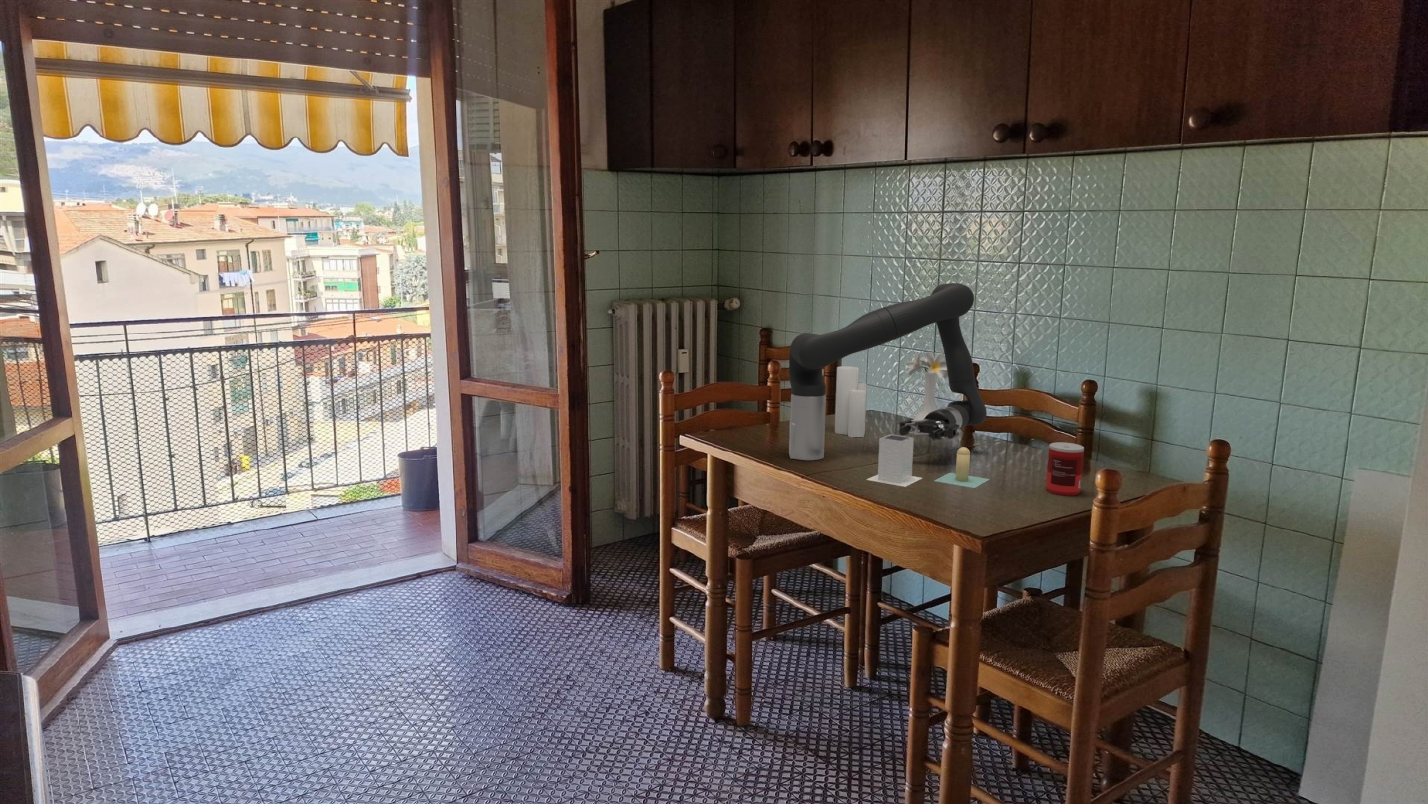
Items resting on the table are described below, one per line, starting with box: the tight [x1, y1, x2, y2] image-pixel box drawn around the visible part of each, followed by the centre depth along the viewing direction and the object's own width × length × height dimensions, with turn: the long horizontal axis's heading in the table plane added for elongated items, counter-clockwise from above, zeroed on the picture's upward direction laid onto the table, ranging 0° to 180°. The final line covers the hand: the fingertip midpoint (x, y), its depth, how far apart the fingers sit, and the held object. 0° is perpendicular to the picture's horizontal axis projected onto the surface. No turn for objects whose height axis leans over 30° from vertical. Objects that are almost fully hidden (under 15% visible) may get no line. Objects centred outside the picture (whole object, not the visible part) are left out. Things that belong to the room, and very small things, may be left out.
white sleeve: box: [877, 433, 915, 483], centre depth 212 cm, size 6×6×10 cm
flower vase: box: [906, 351, 948, 432], centre depth 271 cm, size 13×18×25 cm
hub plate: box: [933, 446, 991, 489], centre depth 212 cm, size 10×10×10 cm
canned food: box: [1045, 441, 1085, 497], centre depth 208 cm, size 8×8×11 cm
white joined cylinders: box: [834, 365, 868, 438], centre depth 268 cm, size 11×7×20 cm, turn 37°
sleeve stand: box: [866, 474, 923, 488], centre depth 212 cm, size 10×10×10 cm
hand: (917, 433), depth 220 cm, fingers open, 8 cm apart
